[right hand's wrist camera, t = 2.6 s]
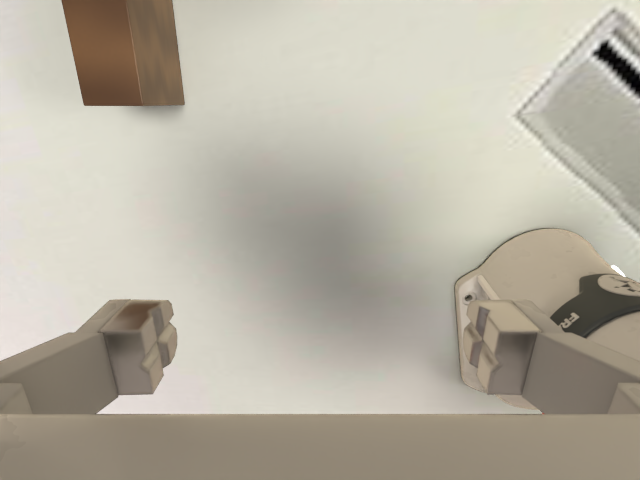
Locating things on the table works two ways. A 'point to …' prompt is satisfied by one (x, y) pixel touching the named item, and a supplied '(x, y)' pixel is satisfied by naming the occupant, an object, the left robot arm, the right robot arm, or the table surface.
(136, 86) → the bar
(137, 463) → the right robot arm
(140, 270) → the table surface
